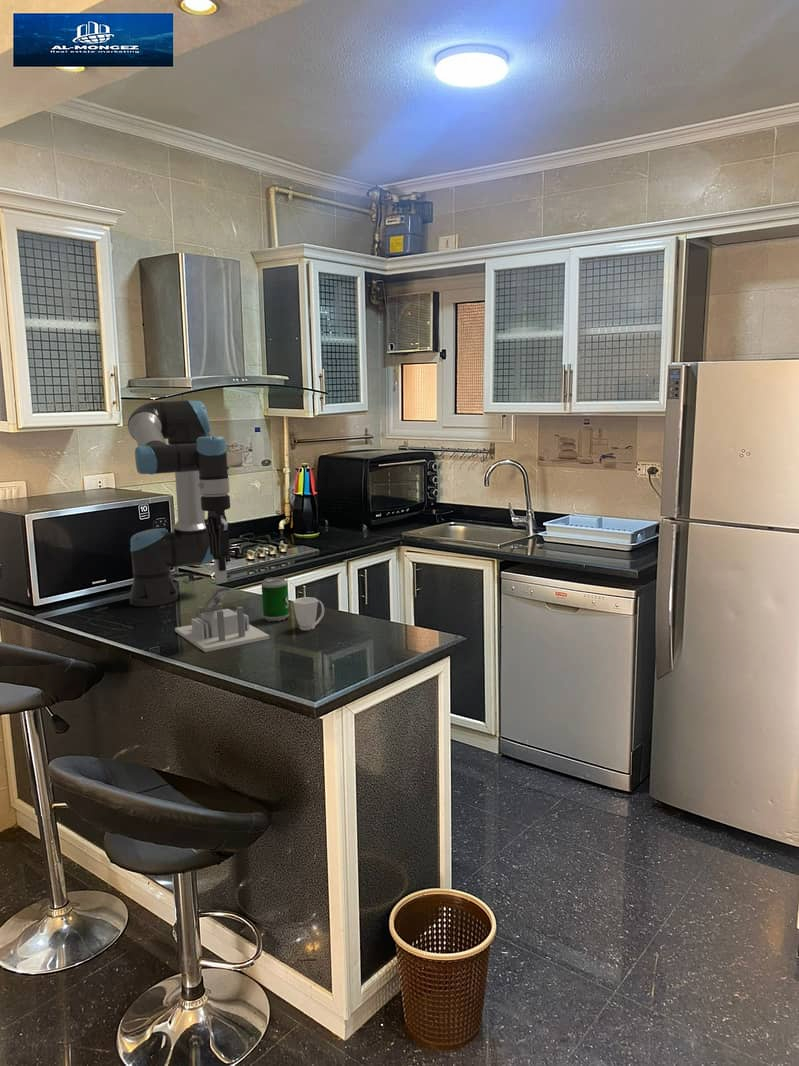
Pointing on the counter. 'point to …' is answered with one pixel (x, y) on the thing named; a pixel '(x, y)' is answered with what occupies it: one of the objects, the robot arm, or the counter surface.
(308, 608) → the cup
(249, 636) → the heatsink base
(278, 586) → the soda can
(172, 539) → the robot arm
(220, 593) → the lever
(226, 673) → the counter surface
